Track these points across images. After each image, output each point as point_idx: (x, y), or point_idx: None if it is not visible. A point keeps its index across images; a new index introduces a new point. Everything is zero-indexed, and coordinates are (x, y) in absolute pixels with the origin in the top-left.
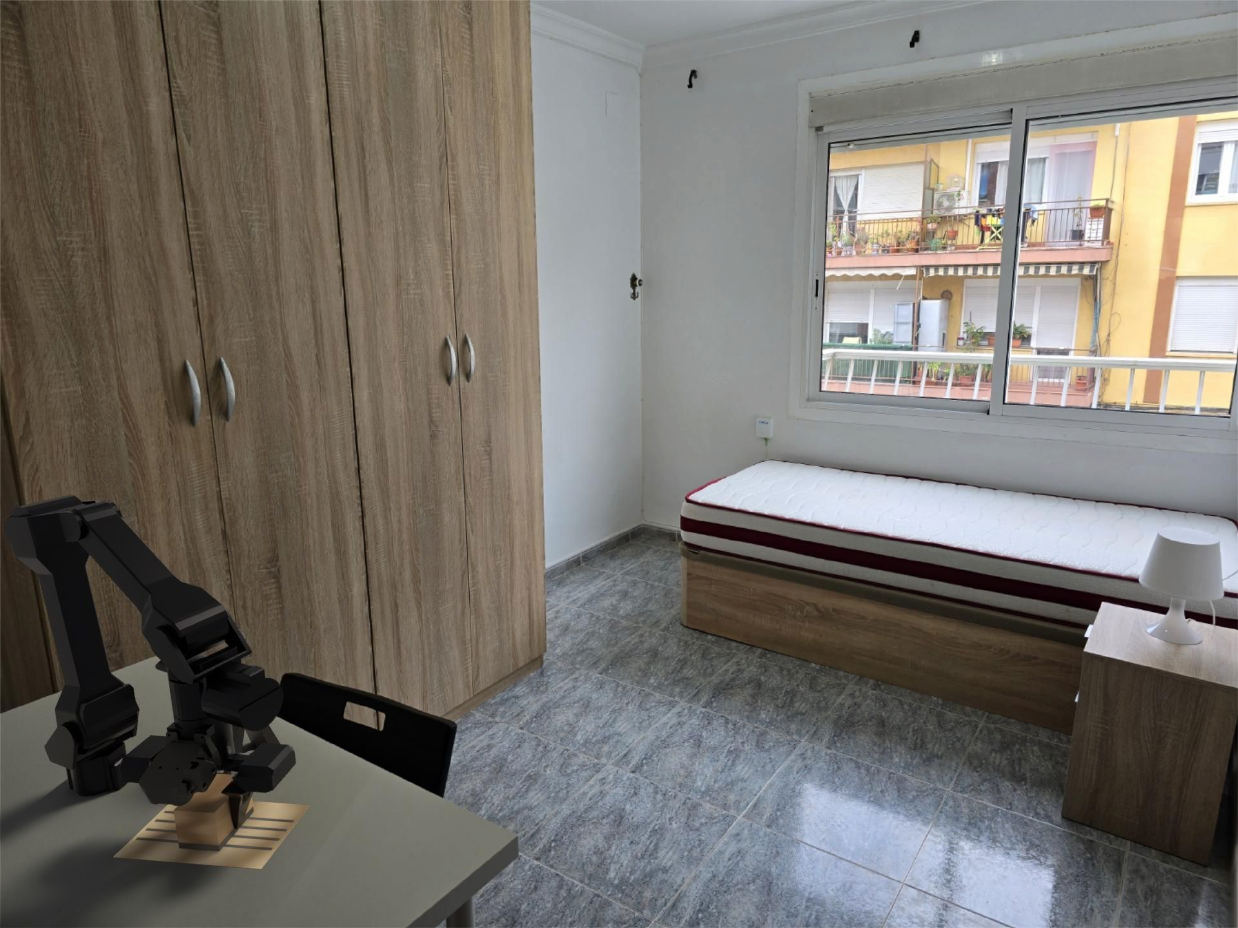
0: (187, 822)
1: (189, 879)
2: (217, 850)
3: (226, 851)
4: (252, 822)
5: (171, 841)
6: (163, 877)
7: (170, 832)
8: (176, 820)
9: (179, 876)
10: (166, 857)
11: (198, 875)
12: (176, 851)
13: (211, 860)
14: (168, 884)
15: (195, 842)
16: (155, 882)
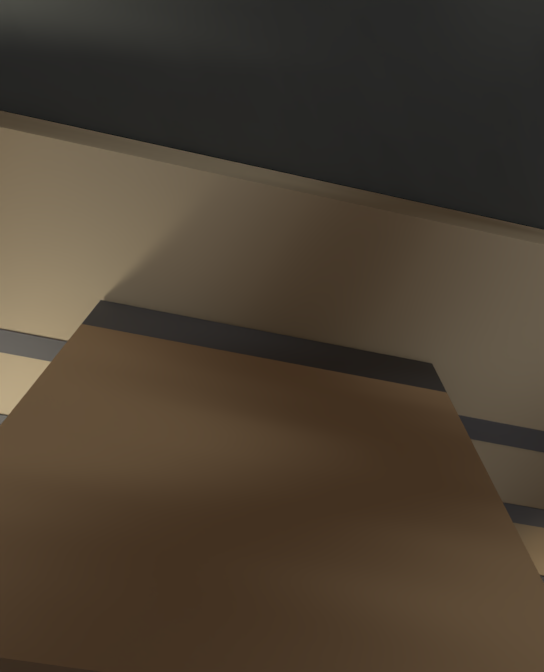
0: (368, 528)
1: (263, 90)
2: (116, 304)
3: (46, 292)
4: None
5: (508, 431)
6: (472, 136)
7: (537, 506)
8: (516, 566)
9: (353, 135)
10: (500, 273)
11: (212, 130)
12: (441, 333)
13: (110, 199)
14: (408, 46)
15: (294, 367)
16: (518, 83)
